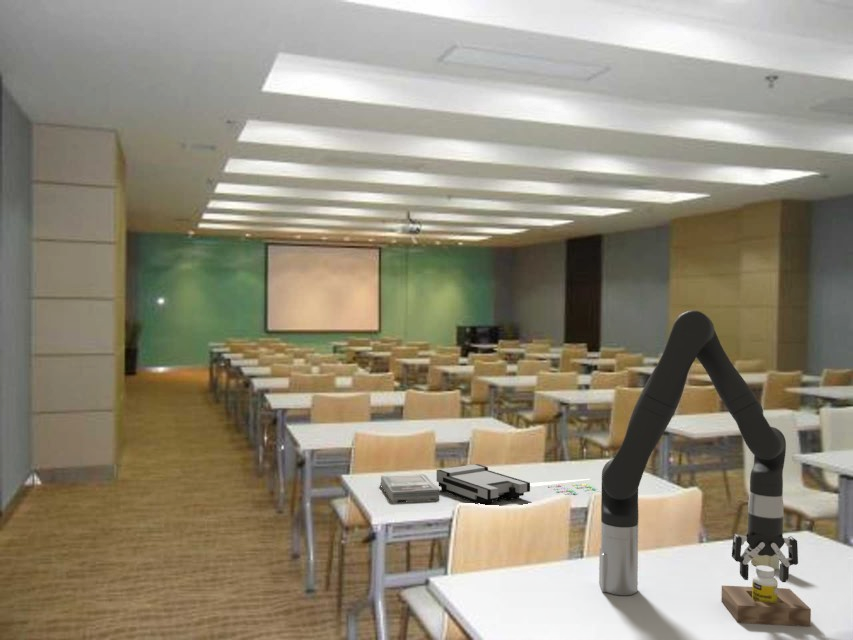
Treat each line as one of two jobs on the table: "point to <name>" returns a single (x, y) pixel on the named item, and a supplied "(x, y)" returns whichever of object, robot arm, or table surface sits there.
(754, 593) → the supplement bottle
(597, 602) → the table surface
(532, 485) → the printed paper
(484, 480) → the game console
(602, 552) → the robot arm
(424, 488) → the hard drive
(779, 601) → the walnut socket board
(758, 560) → the skincare box
